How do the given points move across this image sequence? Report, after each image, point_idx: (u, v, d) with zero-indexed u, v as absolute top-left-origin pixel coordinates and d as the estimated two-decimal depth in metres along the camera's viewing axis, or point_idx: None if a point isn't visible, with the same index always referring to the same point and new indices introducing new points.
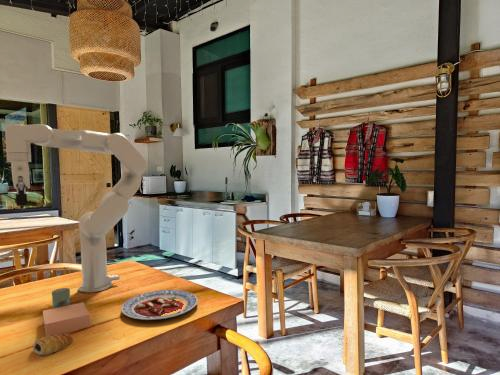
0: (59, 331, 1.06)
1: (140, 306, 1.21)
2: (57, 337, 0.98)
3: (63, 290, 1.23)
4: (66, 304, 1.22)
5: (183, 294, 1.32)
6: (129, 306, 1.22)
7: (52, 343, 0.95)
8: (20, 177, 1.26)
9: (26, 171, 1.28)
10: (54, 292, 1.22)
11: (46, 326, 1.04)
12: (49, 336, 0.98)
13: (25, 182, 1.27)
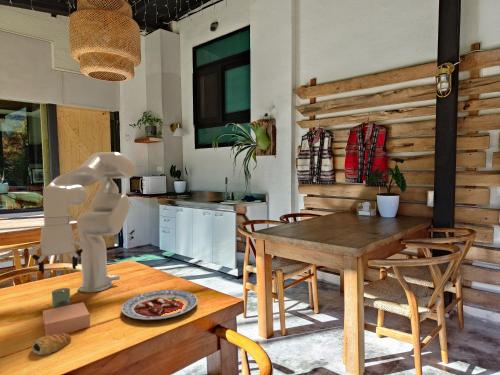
0: (59, 331, 1.06)
1: (140, 306, 1.21)
2: (56, 337, 0.98)
3: (63, 290, 1.23)
4: (66, 304, 1.22)
5: (183, 294, 1.32)
6: (129, 306, 1.22)
7: (51, 343, 0.95)
8: (74, 240, 1.25)
9: None
10: (54, 292, 1.22)
11: (46, 326, 1.04)
12: (48, 336, 0.98)
13: None
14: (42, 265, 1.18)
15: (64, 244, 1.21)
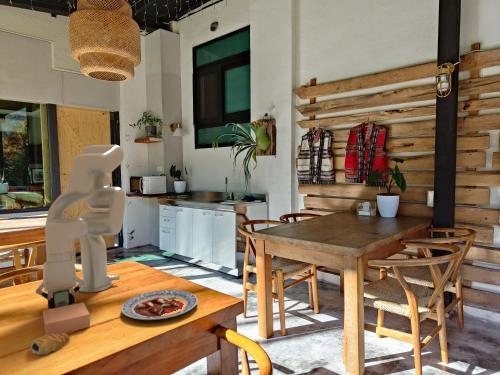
0: (59, 331, 1.06)
1: (140, 306, 1.21)
2: (54, 337, 0.98)
3: (63, 290, 1.23)
4: (66, 304, 1.22)
5: (183, 294, 1.32)
6: (129, 306, 1.22)
7: (49, 342, 0.95)
8: None
9: None
10: (54, 292, 1.22)
11: (46, 326, 1.04)
12: (46, 336, 0.98)
13: None
14: (51, 303, 1.21)
15: (66, 279, 1.22)
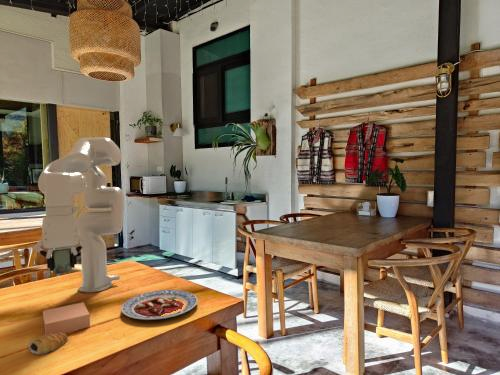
0: (59, 331, 1.06)
1: (140, 306, 1.21)
2: (53, 336, 0.98)
3: (63, 249, 1.12)
4: (67, 264, 1.11)
5: (183, 294, 1.32)
6: (129, 306, 1.22)
7: (48, 342, 0.96)
8: None
9: None
10: (54, 250, 1.10)
11: (46, 326, 1.04)
12: (45, 335, 0.98)
13: None
14: (51, 261, 1.09)
15: (68, 236, 1.11)
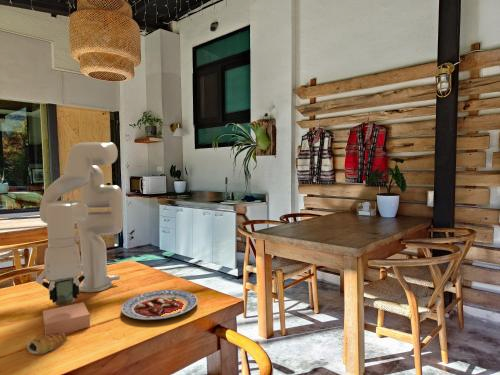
0: (59, 331, 1.06)
1: (140, 306, 1.21)
2: (52, 336, 0.98)
3: (66, 280, 1.11)
4: (70, 295, 1.10)
5: (183, 294, 1.32)
6: (129, 306, 1.22)
7: (47, 342, 0.96)
8: (80, 264, 1.14)
9: None
10: (56, 281, 1.09)
11: (46, 326, 1.04)
12: (43, 335, 0.98)
13: None
14: (53, 293, 1.08)
15: (70, 267, 1.10)
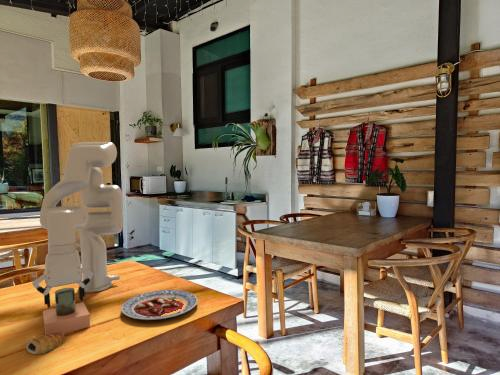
0: (59, 331, 1.06)
1: (140, 306, 1.21)
2: (51, 336, 0.98)
3: (67, 290, 1.12)
4: (70, 306, 1.11)
5: (183, 294, 1.32)
6: (129, 306, 1.22)
7: (46, 342, 0.96)
8: (81, 268, 1.14)
9: None
10: (57, 292, 1.10)
11: (46, 326, 1.04)
12: (42, 335, 0.98)
13: None
14: (48, 298, 1.08)
15: (71, 274, 1.10)
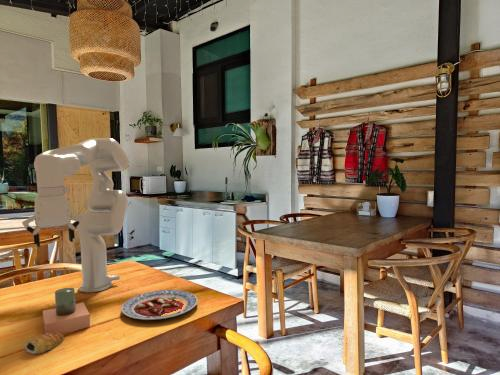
0: (59, 331, 1.06)
1: (140, 306, 1.21)
2: (49, 336, 0.99)
3: (67, 290, 1.12)
4: (70, 306, 1.11)
5: (183, 294, 1.32)
6: (129, 306, 1.22)
7: (45, 342, 0.96)
8: None
9: None
10: (57, 292, 1.10)
11: (46, 326, 1.04)
12: (41, 335, 0.98)
13: None
14: (37, 237, 1.13)
15: (60, 216, 1.16)
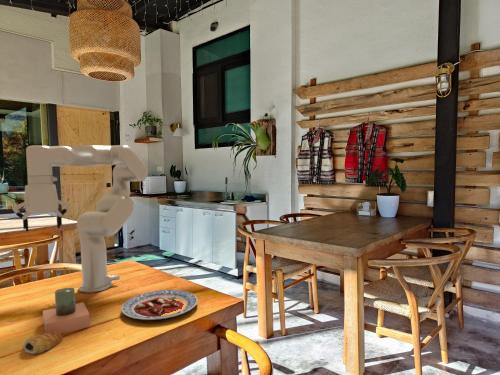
0: (59, 331, 1.06)
1: (140, 306, 1.21)
2: (48, 335, 0.99)
3: (67, 290, 1.12)
4: (70, 306, 1.11)
5: (183, 294, 1.32)
6: (129, 306, 1.22)
7: (44, 341, 0.96)
8: None
9: None
10: (57, 292, 1.10)
11: (46, 326, 1.04)
12: (39, 335, 0.98)
13: None
14: (26, 222, 1.21)
15: (48, 203, 1.23)
